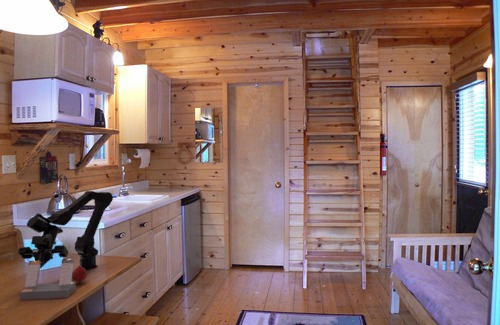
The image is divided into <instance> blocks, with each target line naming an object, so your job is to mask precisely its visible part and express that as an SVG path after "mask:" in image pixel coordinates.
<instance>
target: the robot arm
mask: <svg viewBox="0 0 500 325" xmlns="http://www.w3.org/2000/svg"><path fill="white" fill-rule="evenodd" d="M113 199H114V196H113V194H112V193H111V192H108V191H99V192H98V191H93V190H87V191H85V192H84V193H83V194H82V195H81V196H79V197H78V198H76V199H75V200H74V201H73V202H71V203H70V204H69V205H68V206H66V207H64V208H61V209H59V210H57V211H55V212H53V213H52V214H51V215H50V216H47V217H45V216H43V215H42V214H41V213H39V212H38V213H36V215H33V216H32V217H31V218H29V219H28V221H27V223H26V227H27V228H30V229H31V230H33V231H34V232H36V233H38V234H39V233H42V235H34V236H32V237H31V243H30V244H31V245H34V248H33V249H32V248H31V246H20V247H19V248H18V250H17V252H16V253H17V254H18V256H20V258H22V259H23V260H26V259H27V260H28V259H29V260H30V259H34V261H38V260H41V266H40V270H41V269H42V268H43V267H44V266H45V265H47V263H48V262H50V261H51V260H53V259H54V255H55V254H58V257H59V258H67V257H68V255H69V250H68V249H67V247H66V245H64V244H61V245H56V244H57V242H56V239H57V237H58V235H60V234H61V233H64V230H63V229H62V227H61V226H66V225H67V224H69V222H70V221H71V220H72V219H73V217H74V215H75V214H76V213H77V212H79V210H81V209H82V208H83V207H85V206H86V205H87V204H89V203H90V202H91V201H92V200H94V201H93V202H94V209H93V211H92V213H91V216H90V218H89V221H88V223H87V225H86V229H85V231H84V232H83V234H82V235H81V236H77V238H76V241H75V243H73V244H74V251H75V252H76V253H77V255H78V256H79V257H80V258H79V262H78V263H79V265H80V266H81V267H83V268H84V269H85V270H86V271H88V270H91V269H94V268H95V269H96V268H97V267H98V265H97V259H96V258H97V257H96V256H98V254H99V250H98V249H97V248H95V235H96V232H97V230H98V228H99V226H100V222H101V220H102V218H103V215H104V212H105V210H106V209H108V207H109V206H110V205H111V203H112V202H113Z"/></svg>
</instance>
